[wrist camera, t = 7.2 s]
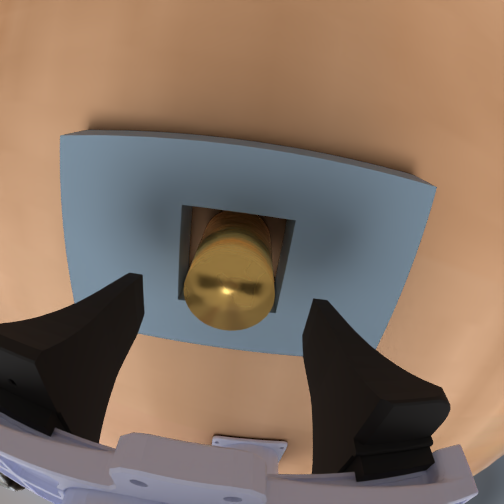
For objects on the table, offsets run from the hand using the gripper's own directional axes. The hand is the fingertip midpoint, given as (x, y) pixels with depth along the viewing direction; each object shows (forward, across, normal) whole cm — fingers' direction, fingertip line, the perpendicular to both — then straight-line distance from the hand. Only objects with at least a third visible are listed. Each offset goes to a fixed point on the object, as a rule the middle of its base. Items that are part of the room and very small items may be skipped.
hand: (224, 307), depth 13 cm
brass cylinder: (+7, 0, 0) cm, 7 cm away
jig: (+7, 0, 0) cm, 7 cm away
